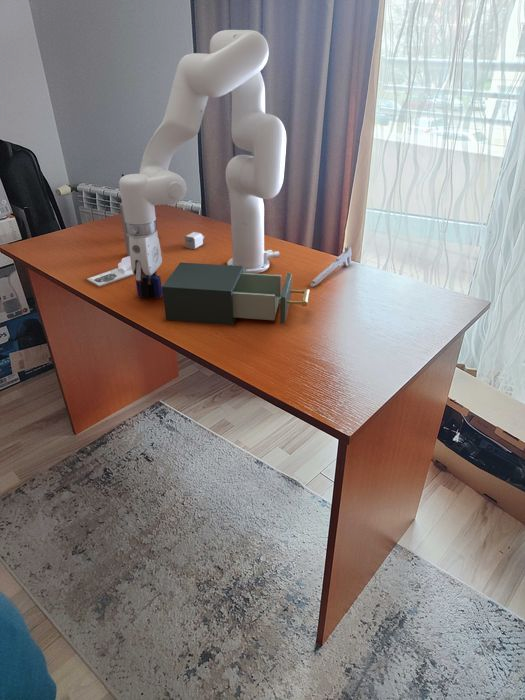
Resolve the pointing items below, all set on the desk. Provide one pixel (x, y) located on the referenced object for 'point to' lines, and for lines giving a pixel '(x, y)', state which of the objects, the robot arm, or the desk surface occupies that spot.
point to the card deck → (156, 286)
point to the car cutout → (113, 273)
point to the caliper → (334, 265)
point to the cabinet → (201, 293)
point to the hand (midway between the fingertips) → (150, 294)
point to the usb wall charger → (194, 240)
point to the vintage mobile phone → (124, 229)
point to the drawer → (264, 296)
